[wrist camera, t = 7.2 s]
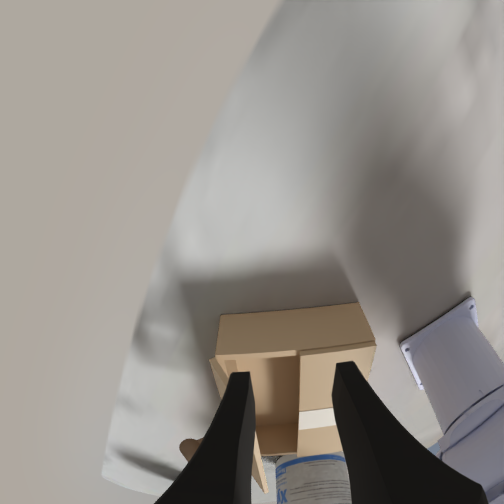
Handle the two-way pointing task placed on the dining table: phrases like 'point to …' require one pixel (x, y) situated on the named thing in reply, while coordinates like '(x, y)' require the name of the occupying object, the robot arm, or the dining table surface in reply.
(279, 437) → the carton
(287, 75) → the dining table surface
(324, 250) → the dining table surface
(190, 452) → the far flap
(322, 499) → the supplement tub
